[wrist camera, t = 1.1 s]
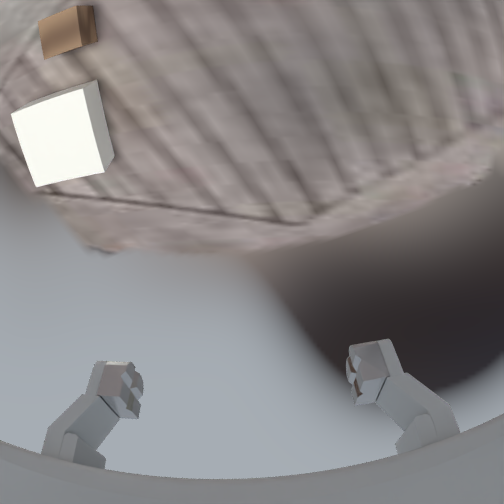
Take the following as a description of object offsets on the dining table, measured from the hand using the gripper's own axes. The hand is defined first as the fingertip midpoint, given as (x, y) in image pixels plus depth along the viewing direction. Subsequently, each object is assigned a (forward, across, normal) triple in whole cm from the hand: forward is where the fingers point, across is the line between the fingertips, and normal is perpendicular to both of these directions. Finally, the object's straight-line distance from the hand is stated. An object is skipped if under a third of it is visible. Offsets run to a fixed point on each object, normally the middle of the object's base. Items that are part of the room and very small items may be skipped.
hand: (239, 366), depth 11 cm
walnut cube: (+31, +18, -18) cm, 40 cm away
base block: (+32, +22, -5) cm, 40 cm away
